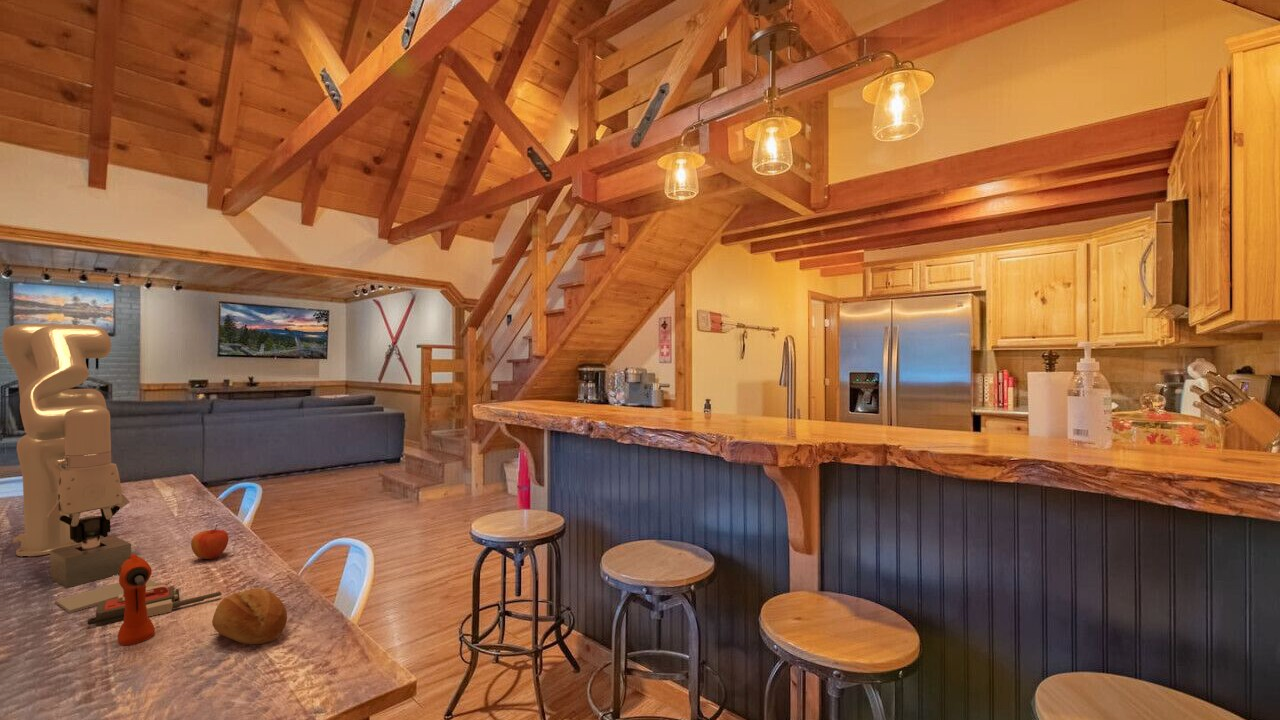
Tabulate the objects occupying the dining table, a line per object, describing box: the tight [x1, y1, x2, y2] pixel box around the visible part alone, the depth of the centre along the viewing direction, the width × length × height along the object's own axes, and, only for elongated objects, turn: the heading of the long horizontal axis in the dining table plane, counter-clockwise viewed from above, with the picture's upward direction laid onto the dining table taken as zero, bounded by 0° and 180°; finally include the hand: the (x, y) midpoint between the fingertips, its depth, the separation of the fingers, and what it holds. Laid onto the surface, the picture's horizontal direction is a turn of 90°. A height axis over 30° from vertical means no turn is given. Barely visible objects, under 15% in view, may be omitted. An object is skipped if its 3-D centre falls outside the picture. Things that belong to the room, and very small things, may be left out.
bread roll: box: [212, 587, 288, 645], centre depth 99 cm, size 10×15×8 cm, turn 63°
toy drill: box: [117, 553, 156, 646], centre depth 96 cm, size 5×19×15 cm, turn 46°
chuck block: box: [49, 535, 132, 589], centre depth 128 cm, size 11×11×6 cm
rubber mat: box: [54, 578, 160, 614], centre depth 117 cm, size 9×14×1 cm, turn 149°
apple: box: [190, 524, 229, 560], centre depth 137 cm, size 7×7×8 cm
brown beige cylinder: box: [79, 515, 102, 551], centre depth 128 cm, size 4×4×10 cm
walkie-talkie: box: [86, 583, 222, 626], centre depth 110 cm, size 9×4×20 cm
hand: (90, 538), depth 128 cm, fingers closed on brown beige cylinder, 3 cm apart
